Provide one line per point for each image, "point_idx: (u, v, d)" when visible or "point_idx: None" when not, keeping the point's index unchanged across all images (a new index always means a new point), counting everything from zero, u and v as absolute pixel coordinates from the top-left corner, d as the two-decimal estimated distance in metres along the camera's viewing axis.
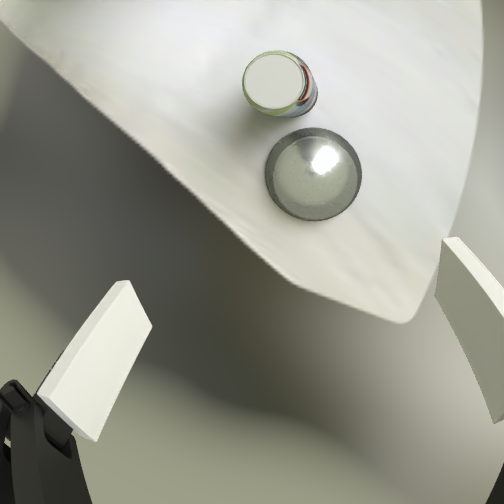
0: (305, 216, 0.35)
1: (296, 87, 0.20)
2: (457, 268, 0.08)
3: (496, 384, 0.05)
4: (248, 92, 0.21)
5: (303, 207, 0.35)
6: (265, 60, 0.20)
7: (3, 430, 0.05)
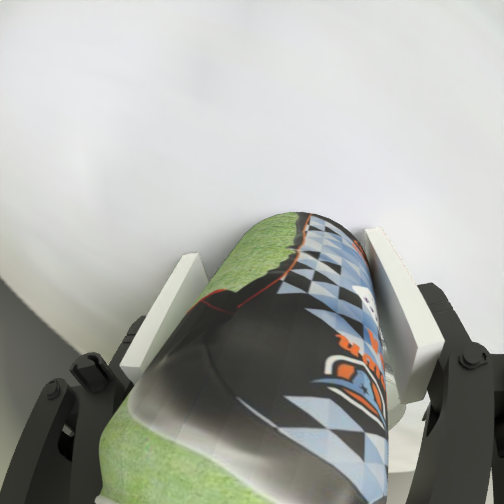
0: None
1: None
2: (373, 254, 0.10)
3: (399, 364, 0.07)
4: None
5: None
6: None
7: (62, 419, 0.06)
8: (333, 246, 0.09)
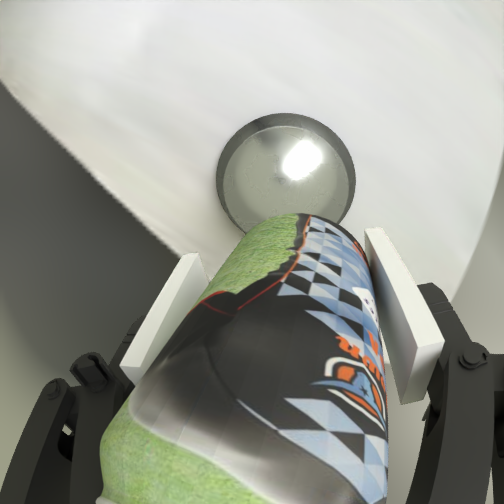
0: None
1: None
2: (373, 254, 0.10)
3: (399, 364, 0.07)
4: None
5: None
6: None
7: (62, 418, 0.06)
8: (333, 247, 0.09)
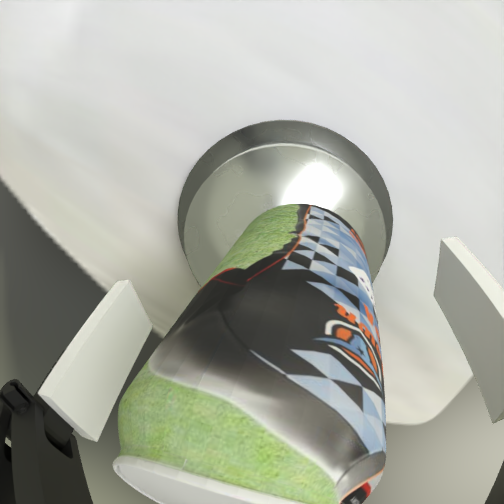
0: None
1: None
2: (456, 267, 0.08)
3: (495, 384, 0.05)
4: (148, 494, 0.05)
5: None
6: (174, 483, 0.03)
7: (4, 430, 0.05)
8: (331, 232, 0.10)
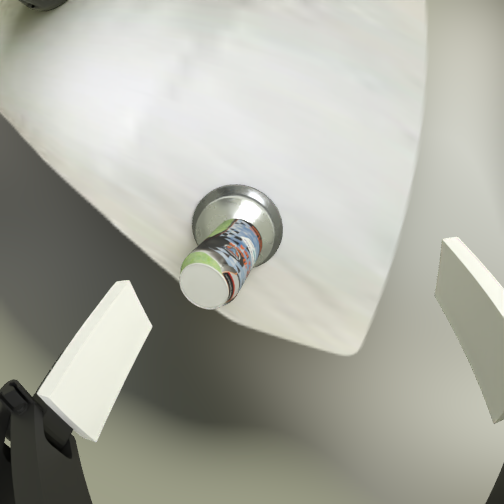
0: None
1: (222, 295, 0.26)
2: (457, 268, 0.08)
3: (496, 384, 0.05)
4: (184, 293, 0.27)
5: None
6: (193, 269, 0.26)
7: (3, 430, 0.05)
8: (240, 227, 0.32)
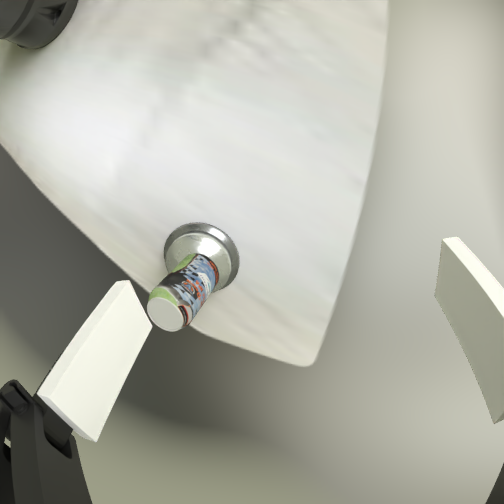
0: None
1: (178, 322, 0.33)
2: (457, 267, 0.08)
3: (496, 384, 0.05)
4: (151, 318, 0.34)
5: None
6: (156, 301, 0.32)
7: (3, 430, 0.05)
8: (198, 263, 0.39)
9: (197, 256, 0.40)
